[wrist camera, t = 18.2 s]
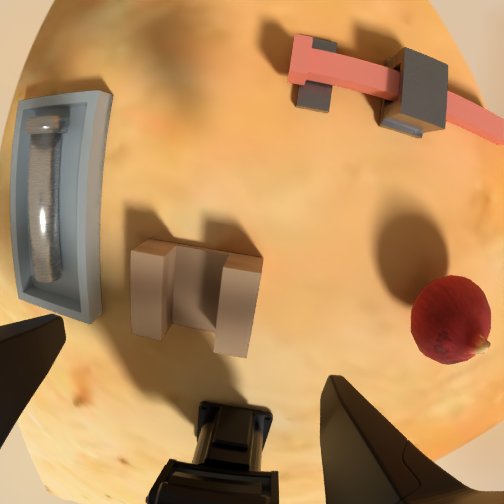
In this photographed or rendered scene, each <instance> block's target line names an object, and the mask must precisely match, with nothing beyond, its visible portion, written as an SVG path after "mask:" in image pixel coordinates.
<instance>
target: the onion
mask: <svg viewBox="0 0 504 504" xmlns="http://www.w3.org/2000/svg"><path fill="white" fill-rule="evenodd" d="M490 329H491V310H490V307H489V304H488V301H487V299H486V297H485V294H484V292H483V291H482V290H481V288H480V287H479V286H478V285H476V284H475V283H474V282H472V281H471V280H470V279H467V278H465V277H461V276H453V275H450V276H447V277H444V278H440V279H437V280H434V281H433V282H431V283H430V284H429V285H427V286H426V287H425V288H423V290H422V291H421V293H420V294H419V295H418V297H417V298H416V300H415V303H414V306H413V308H412V312H411V333H412V335H413V338H414V340H415V342H416V344H417V346H418V348H419V350H420V351H421V352H422V353H423V354H424V355H425V356H427V357H429V358H431V359H433V360H435V361H437V362H439V363H442V364H455V363H459V362H463V361H467V360H469V359H470V358H472V357H474V356H475V355H477V354H483V353H485V352H486V351H487V350H488V349H489V347H490V342H488V341H487V338H488V335H489V333H490Z"/></svg>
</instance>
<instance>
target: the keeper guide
mask: <svg viewBox="0 0 504 504" xmlns="http://www.w3.org/2000/svg"><path fill="white" fill-rule="evenodd" d="M312 48H314V49H319V50H323V51H328V52H333V53H336V51H337V43H335V42H331V41H326V40H321V39H316V38H313V42H312ZM385 67H388V68H391V69H394V70H397V71H400V81H399V94H398V100H397V101H395V102H393V101H390V100H387V99H383V98H382V104H381V112H380V121H379V126H380V127H384V128H387V129H390V130H394V131H397V132H400V133H403V134H407V135H410V136H413V137H416V138H422V133H425V132H430V131H437V130H443V129H445V122H446V110H447V91H448V65H447V64H445V63H443V62H441V61H438V60H436V59H434V58H431V57H429V56H427V55H424V54H422V53H419V52H417V51H414V50H412V49H409V48H406V47H404V48H403V49H402V50H401V51H400V52H398V53H397V54H396V55H395V56H394V57H393V58H389V57H388V58H387V59H386V60H385ZM331 92H332V85H330V84H325V83H320V82H315V81H310V80H306V81H305V84H304V85H299V90H298V97H297V104H296V107H297V108H303V109H308V110H313V111H318V112H323V113H328V112H329V107H330V100H331Z"/></svg>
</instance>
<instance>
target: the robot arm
mask: <svg viewBox="0 0 504 504" xmlns="http://www.w3.org/2000/svg"><path fill="white" fill-rule="evenodd" d="M65 341H66V334H65V328H64V322H63V319H62V317H61V316H58V315H55V314H49V315H45V316H40V317H36V318H32V319H28V320H24V321H20V322H15V323H11V324H7V325H3V326H0V449H1V447H2V445H3V443H4V442H5V440H6V438H7V436H8V435H9V433H10V431H11V430H12V428H13V426H14V425H15V423H16V421H17V420H18V418H19V416H20V415H21V413H22V412H23V410H24V409H25V407H26V405H27V404H28V402H29V401H30V399H31V398H32V396H33V395H34V393H35V392H36V390H37V389H38V387H39V386H40V384H41V383H42V381H43V380H44V378H45V377H46V375H47V374H48V372H49V370H50V368H51V367H52V365H53V363H54V361H55V359H56V358H57V356H58V354H59V352H60V350H61V349H62V347H63V345H64V343H65ZM204 406H205V407H204ZM272 420H273V415H272V413H270V412H264V411H256V410H250V409H243V408H237V407H231V406H226V405H220V404H215V403H210V402H201V403H200V406H199V415H198V432H197V446H196V450H195V453H194V457H193V460H192V464H191V463H185V462H180V461H177V460H175V459H169V461H168V463H167V464H166V465H165V466H164V468H163V470H162V471H161V473H160V475H159V476H158V478H157V480H156V482H155V483H154V485H153V487H152V488H151V490H150V492H149V495H148V496H147V497H146V503H147V504H279V480H278V471H271V472H264V471H260V470H261V457H262V451H263V448H264V445H265V442H266V439H267V436H268V432H269V429H270V426H271V423H272ZM320 446H321V455H322V465H323V474H324V485H325V495H326V504H504V491H477V490H474V489H471V488H469V487H467V486H465V485H464V484H462V483H461V482H460V481H458V480H457V479H456V478H454V477H453V476H451V475H450V474H449V473H447V472H446V471H444V470H443V469H442V468H441V467H439V466H438V465H437V464H435V463H434V462H433V461H432V460H430V459H429V458H428V457H427V456H425V455H424V454H423V453H422V452H421V451H420V450H419V449H418V448H416V447H415V446H414V445H413V444H412V443H411V442H410V441H409V440H407V438H406V437H405V436H404V435H403V434H402V433H401V432H399V431H398V430H397V429H396V428H395V427H394V426H393V425H392V424H391V423H390V422H389V421H388V420H387V419H386V418H385V417H384V416H383V415H382V414H381V413H380V412H379V411H378V410H377V409H376V408H375V407H374V406H373V405H372V404H371V403H369V402H368V401H367V400H366V399H365V398H364V397H363V396H362V395H361V394H360V393H359V392H358V391H357V390H356V389H355V388H354V387H353V386H352V385H351V384H350V383H349V382H348V381H347V380H346V379H345V378H344V377H343V376H341V375H330V376H329V377H328V378H327V381H326V383H325V386H324V389H323V391H322V394H321V399H320Z"/></svg>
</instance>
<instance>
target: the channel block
mask: <svg viewBox="0 0 504 504" xmlns="http://www.w3.org/2000/svg"><path fill="white" fill-rule="evenodd" d="M262 265H263V258H261V257H255V256H249V255H243V254H237V253H231V252H225V251H219V250H213V249H207V248H201V247H195V246H189V245H183V244H177V243H171V242H166V241H160V240H154V239H148V240H147V241H145V242H143V243H142V244H140V245H139V246H137V247H135V248H134V249H132V250H131V263H130V297H131V329H132V334H136V335H139V336H143V337H147V338H151V339H155V340H159V341H161V340H162V339H163V337H164V335H165V334H166V332H167V331H168V329H169V327H170V326H171V324H172V323H173V324H177V325H182V326H187V327H191V328H196V329H201V330H206V331H211V332H215V340H214V349H213V352H214V353H219V354H224V355H230V356H235V357H241V358H247V352H248V347H249V341H250V336H251V330H252V325H253V319H254V313H255V308H256V302H257V296H258V290H259V285H260V279H261V273H262Z"/></svg>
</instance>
